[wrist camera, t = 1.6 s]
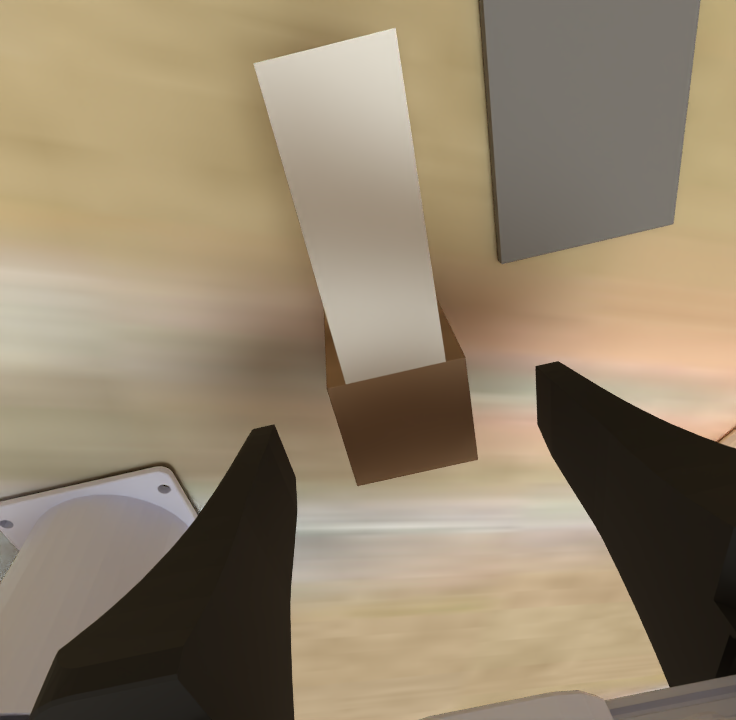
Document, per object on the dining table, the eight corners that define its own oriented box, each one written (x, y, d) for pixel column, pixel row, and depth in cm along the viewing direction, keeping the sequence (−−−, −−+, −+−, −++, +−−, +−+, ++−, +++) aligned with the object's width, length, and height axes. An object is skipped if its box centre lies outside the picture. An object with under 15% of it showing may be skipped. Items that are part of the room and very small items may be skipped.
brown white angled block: (435, 353, 20) (478, 459, 15) (346, 373, 20) (357, 485, 15) (383, 31, 14) (422, 20, 9) (258, 62, 14) (226, 70, 9)
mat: (666, 220, 18) (673, 224, 17) (498, 260, 18) (501, 264, 17) (704, -121, 13) (715, -126, 13) (474, -62, 13) (478, -65, 13)
